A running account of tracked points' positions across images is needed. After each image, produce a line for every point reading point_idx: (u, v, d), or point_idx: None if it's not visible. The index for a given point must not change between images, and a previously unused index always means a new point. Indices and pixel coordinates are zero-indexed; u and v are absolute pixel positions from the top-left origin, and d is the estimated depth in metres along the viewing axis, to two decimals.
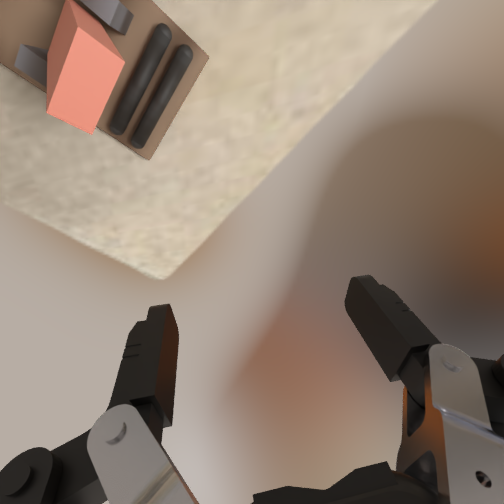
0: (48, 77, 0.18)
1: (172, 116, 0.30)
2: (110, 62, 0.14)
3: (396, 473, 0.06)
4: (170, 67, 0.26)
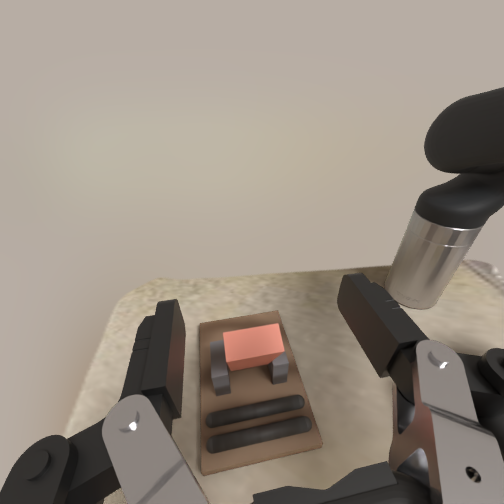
0: None
1: (258, 456, 0.28)
2: (277, 344, 0.21)
3: (389, 473, 0.06)
4: (288, 420, 0.29)
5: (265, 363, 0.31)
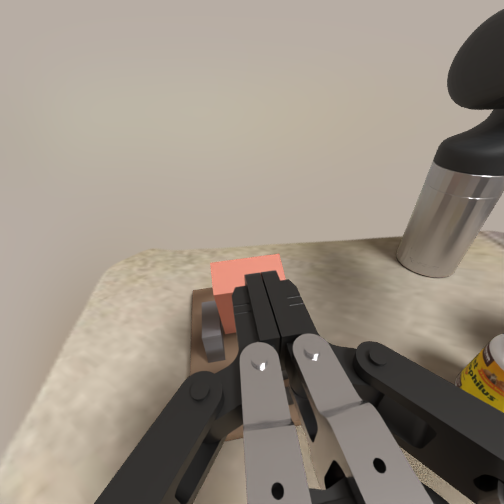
0: None
1: None
2: None
3: None
4: None
5: None
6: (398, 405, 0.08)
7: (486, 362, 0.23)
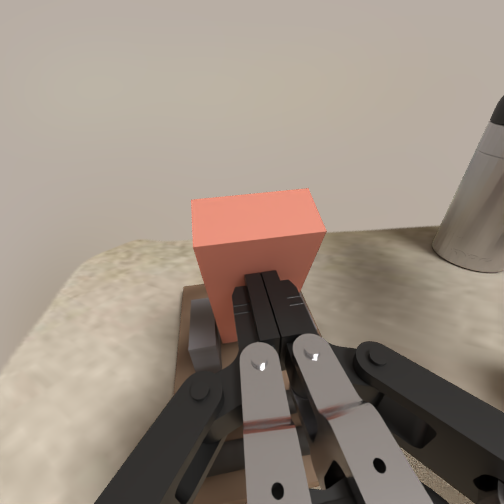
0: None
1: None
2: (308, 220, 0.10)
3: None
4: None
5: None
6: (398, 405, 0.08)
7: None
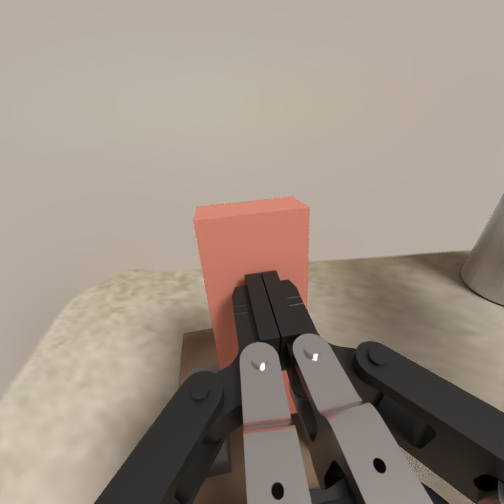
0: None
1: None
2: (293, 205, 0.11)
3: None
4: None
5: None
6: (398, 405, 0.08)
7: None
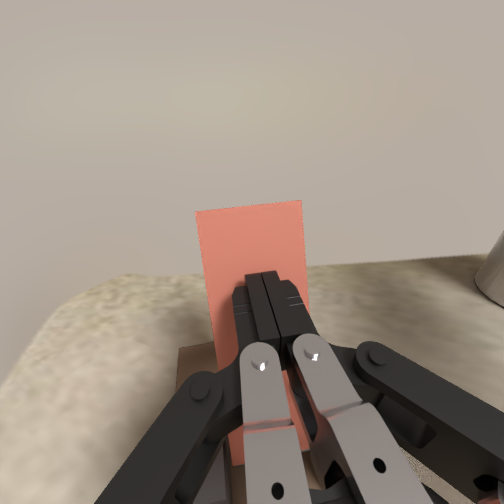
0: None
1: None
2: None
3: None
4: None
5: None
6: (398, 405, 0.08)
7: None
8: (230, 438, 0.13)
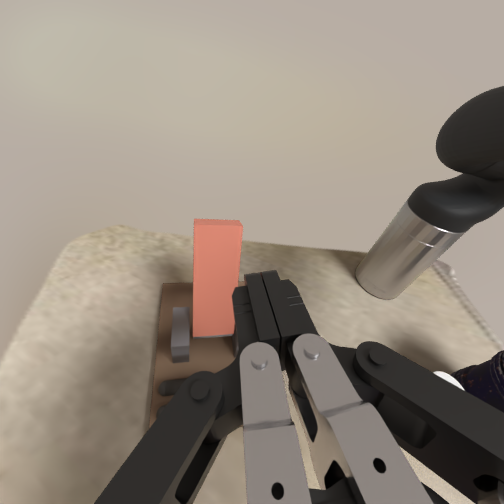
0: None
1: None
2: (237, 224, 0.26)
3: None
4: None
5: (230, 316, 0.30)
6: (398, 405, 0.08)
7: None
8: (193, 324, 0.29)
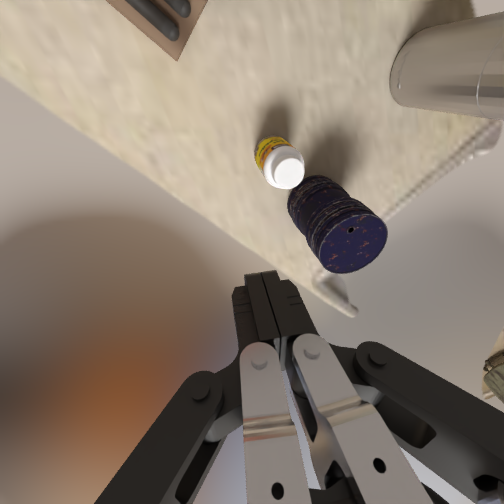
0: None
1: (109, 1, 0.25)
2: None
3: None
4: (156, 9, 0.25)
5: None
6: (398, 405, 0.08)
7: (273, 146, 0.32)
8: None
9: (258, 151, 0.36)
